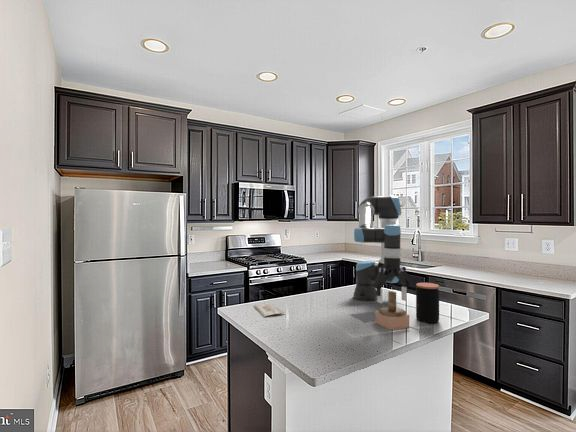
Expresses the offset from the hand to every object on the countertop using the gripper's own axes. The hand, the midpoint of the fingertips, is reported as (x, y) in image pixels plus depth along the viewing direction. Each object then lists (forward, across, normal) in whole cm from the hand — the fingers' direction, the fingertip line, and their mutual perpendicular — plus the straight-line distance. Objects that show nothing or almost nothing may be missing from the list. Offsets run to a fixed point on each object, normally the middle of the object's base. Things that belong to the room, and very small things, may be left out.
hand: (392, 301), depth 160 cm
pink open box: (+11, 0, 0) cm, 11 cm away
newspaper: (+12, +49, -44) cm, 67 cm away
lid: (+5, 0, 0) cm, 5 cm away
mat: (+11, +4, -14) cm, 18 cm away
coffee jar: (+12, -21, 0) cm, 24 cm away
